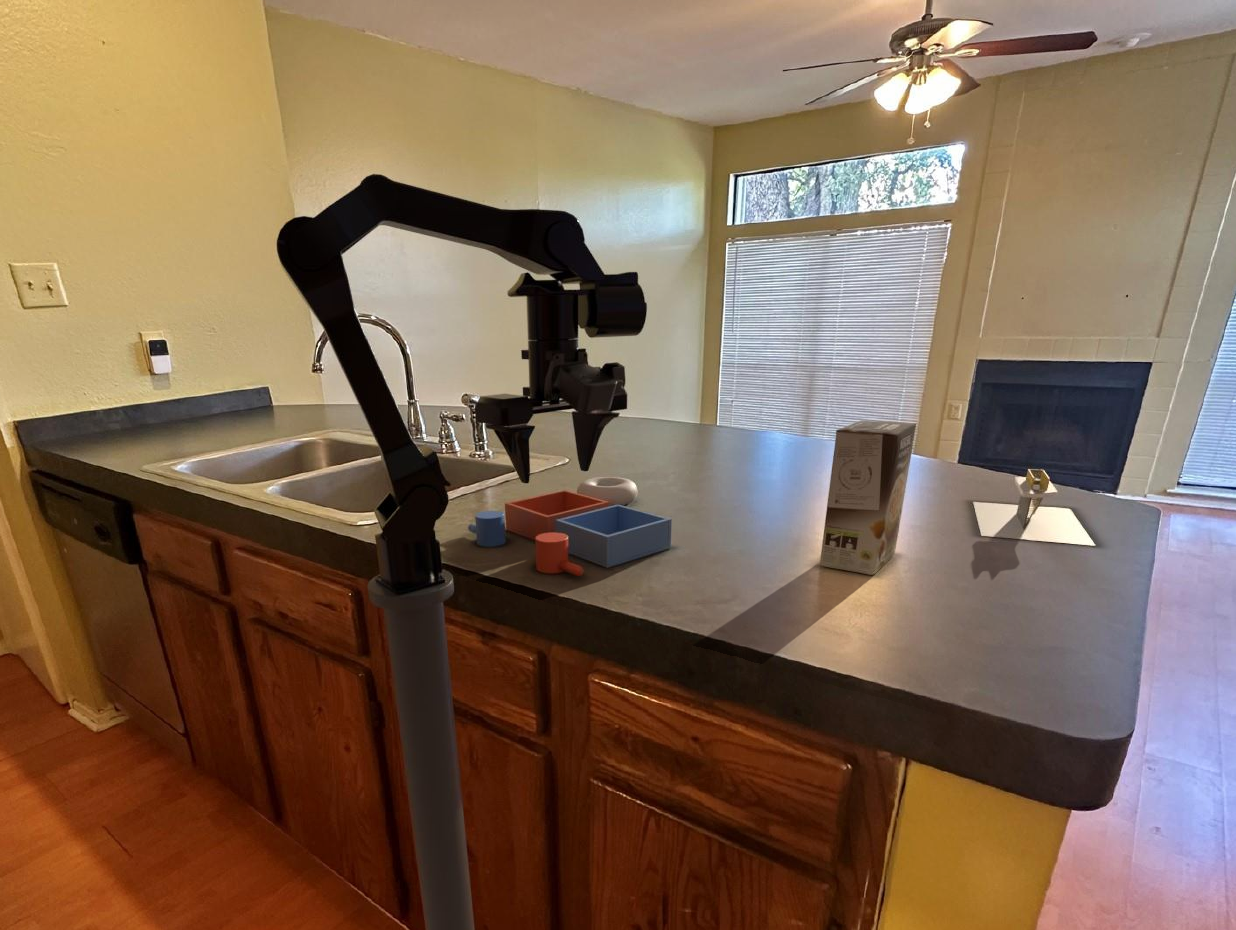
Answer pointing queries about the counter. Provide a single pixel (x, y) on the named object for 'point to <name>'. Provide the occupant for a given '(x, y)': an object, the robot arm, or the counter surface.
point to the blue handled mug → (489, 528)
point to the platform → (1031, 516)
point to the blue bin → (615, 534)
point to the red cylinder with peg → (554, 554)
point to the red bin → (547, 511)
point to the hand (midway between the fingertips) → (555, 476)
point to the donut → (609, 490)
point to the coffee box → (866, 494)
